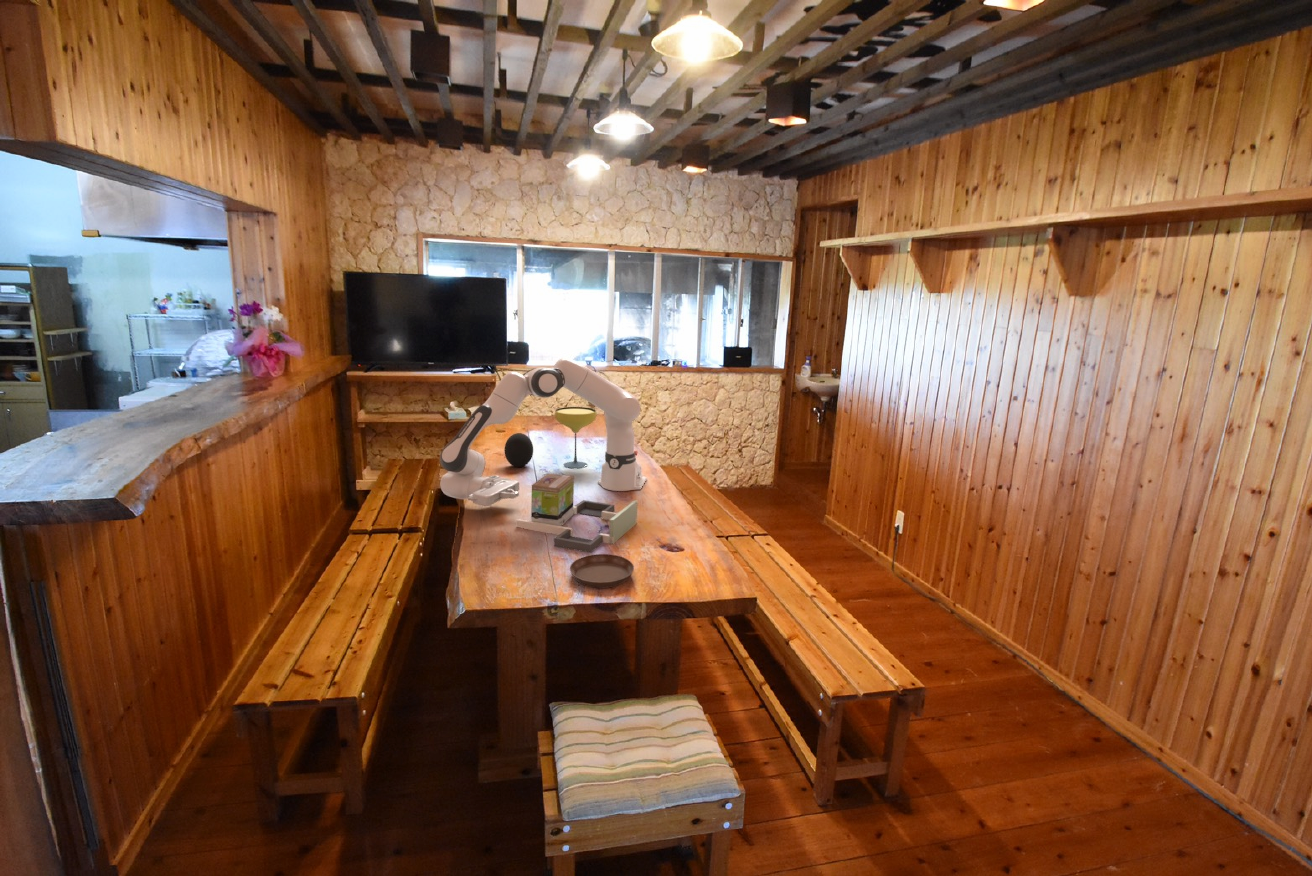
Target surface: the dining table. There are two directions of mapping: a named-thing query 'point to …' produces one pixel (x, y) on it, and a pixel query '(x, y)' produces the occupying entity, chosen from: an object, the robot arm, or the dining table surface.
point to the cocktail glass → (575, 425)
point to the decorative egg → (518, 450)
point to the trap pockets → (582, 543)
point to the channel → (617, 520)
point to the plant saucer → (602, 570)
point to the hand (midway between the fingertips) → (516, 495)
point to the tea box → (552, 499)
